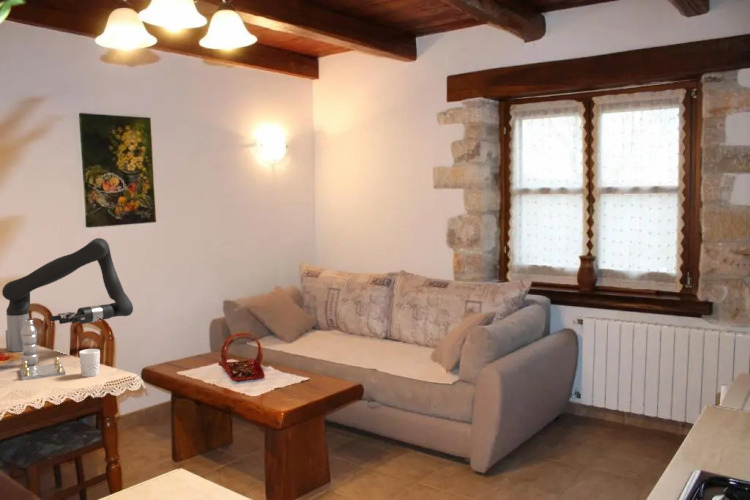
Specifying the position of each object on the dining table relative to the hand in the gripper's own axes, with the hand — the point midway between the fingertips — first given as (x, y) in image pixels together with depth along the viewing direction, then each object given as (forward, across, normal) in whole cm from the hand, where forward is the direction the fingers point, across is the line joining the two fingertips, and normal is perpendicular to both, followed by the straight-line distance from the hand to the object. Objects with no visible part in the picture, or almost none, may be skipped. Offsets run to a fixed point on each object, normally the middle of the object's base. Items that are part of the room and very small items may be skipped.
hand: (55, 320), depth 292 cm
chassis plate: (+13, +15, +18) cm, 27 cm away
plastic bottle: (+12, 0, +18) cm, 22 cm away
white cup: (+2, +32, +19) cm, 38 cm away
